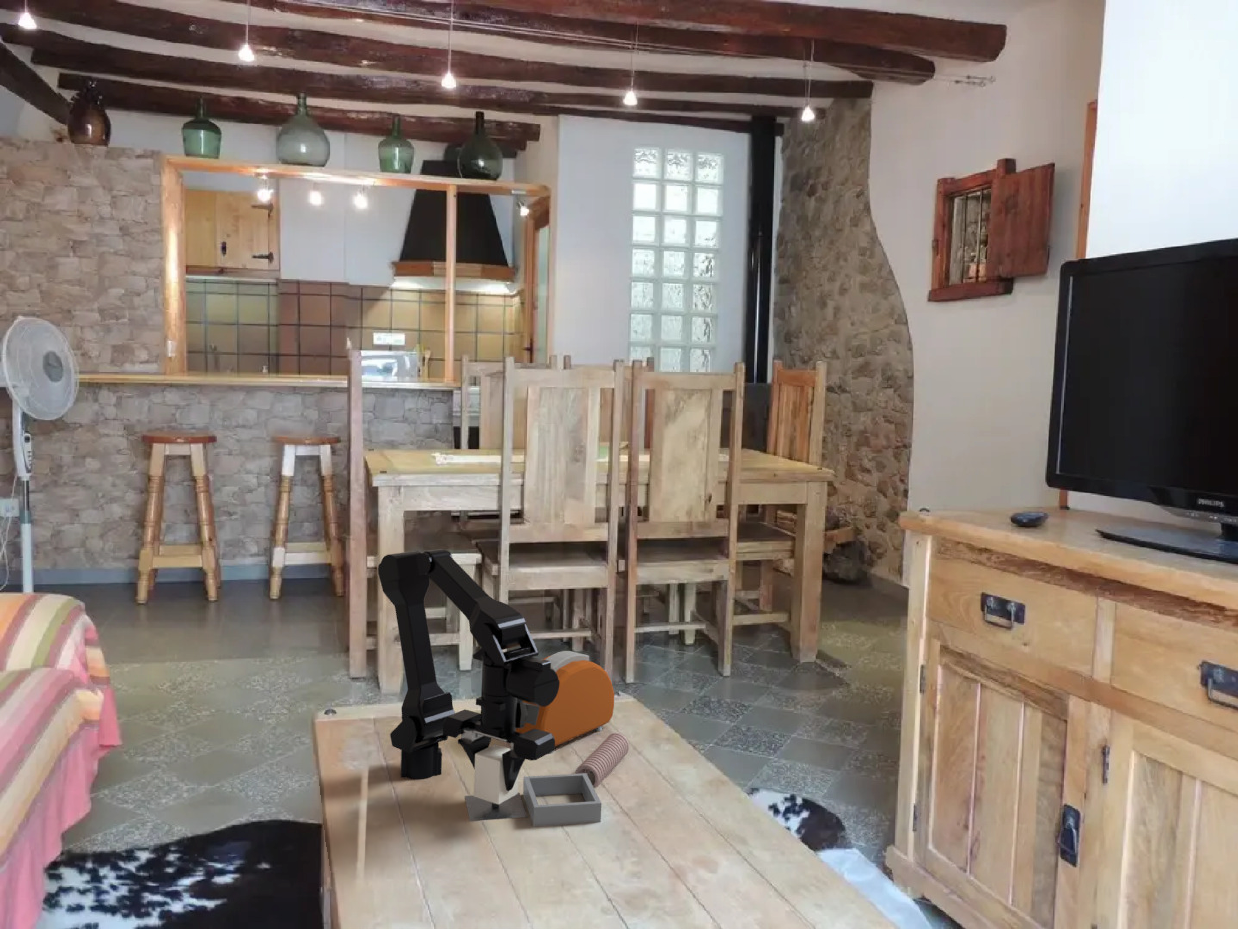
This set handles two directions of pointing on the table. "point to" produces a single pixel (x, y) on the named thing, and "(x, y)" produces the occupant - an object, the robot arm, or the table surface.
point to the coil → (605, 757)
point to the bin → (563, 811)
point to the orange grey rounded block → (575, 698)
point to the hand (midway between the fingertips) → (496, 785)
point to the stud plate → (495, 808)
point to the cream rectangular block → (492, 776)
